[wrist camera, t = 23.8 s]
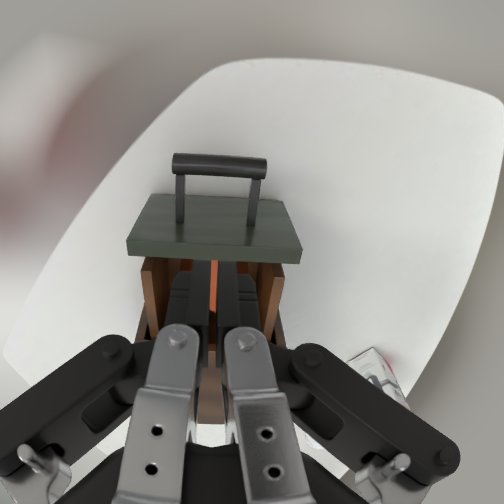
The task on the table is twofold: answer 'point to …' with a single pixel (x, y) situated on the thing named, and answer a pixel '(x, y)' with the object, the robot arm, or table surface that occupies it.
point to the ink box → (378, 374)
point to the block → (213, 276)
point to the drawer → (214, 236)
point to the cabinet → (210, 373)
